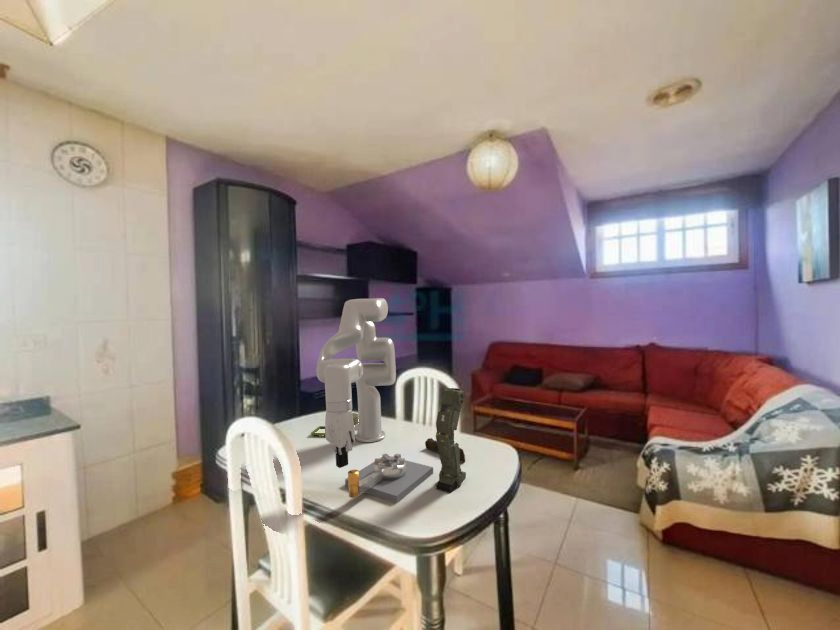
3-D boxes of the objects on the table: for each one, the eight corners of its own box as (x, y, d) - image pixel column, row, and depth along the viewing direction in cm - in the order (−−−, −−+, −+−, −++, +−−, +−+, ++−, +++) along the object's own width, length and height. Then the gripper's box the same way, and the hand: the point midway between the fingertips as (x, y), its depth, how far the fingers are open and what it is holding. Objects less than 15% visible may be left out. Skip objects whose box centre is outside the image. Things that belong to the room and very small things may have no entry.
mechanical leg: (447, 497, 99) (455, 388, 104) (425, 490, 102) (434, 386, 108) (467, 486, 110) (473, 389, 115) (447, 481, 114) (454, 387, 119)
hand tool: (424, 449, 135) (424, 437, 135) (432, 446, 137) (432, 435, 137) (459, 466, 120) (458, 452, 120) (467, 462, 122) (466, 449, 122)
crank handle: (388, 462, 119) (387, 443, 119) (412, 469, 113) (411, 448, 113) (338, 493, 100) (337, 470, 100) (363, 503, 94) (362, 478, 94)
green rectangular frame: (337, 431, 159) (337, 426, 159) (329, 438, 151) (329, 433, 151) (319, 430, 161) (319, 426, 161) (310, 437, 152) (310, 432, 152)
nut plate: (345, 485, 109) (345, 478, 109) (385, 460, 126) (385, 454, 126) (396, 503, 98) (396, 495, 98) (433, 473, 115) (433, 466, 115)
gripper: (315, 403, 106) (319, 461, 107) (340, 414, 95) (343, 479, 96) (338, 397, 111) (340, 453, 112) (363, 407, 100) (366, 469, 101)
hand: (342, 465), depth 104 cm, fingers closed
